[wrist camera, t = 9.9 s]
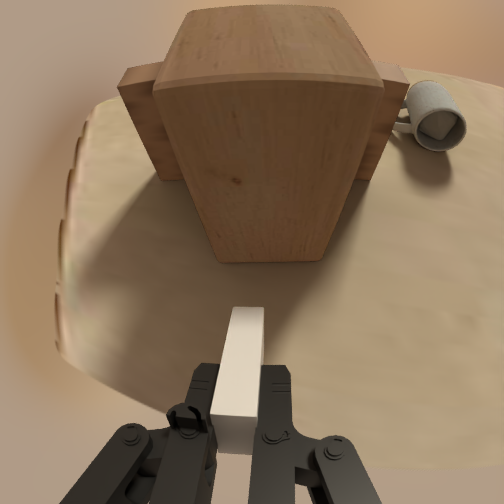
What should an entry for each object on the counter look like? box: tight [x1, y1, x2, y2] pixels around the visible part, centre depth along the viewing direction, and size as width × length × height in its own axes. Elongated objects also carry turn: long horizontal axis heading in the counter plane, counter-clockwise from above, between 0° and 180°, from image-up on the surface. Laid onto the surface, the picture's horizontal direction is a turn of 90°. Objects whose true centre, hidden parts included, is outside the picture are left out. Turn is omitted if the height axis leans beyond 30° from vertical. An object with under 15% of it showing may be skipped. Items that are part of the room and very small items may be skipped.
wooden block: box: [152, 5, 385, 263], centre depth 21 cm, size 10×10×20 cm
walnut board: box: [117, 61, 410, 181], centre depth 27 cm, size 24×3×14 cm, turn 89°
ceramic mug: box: [392, 80, 466, 151], centre depth 32 cm, size 11×8×8 cm
